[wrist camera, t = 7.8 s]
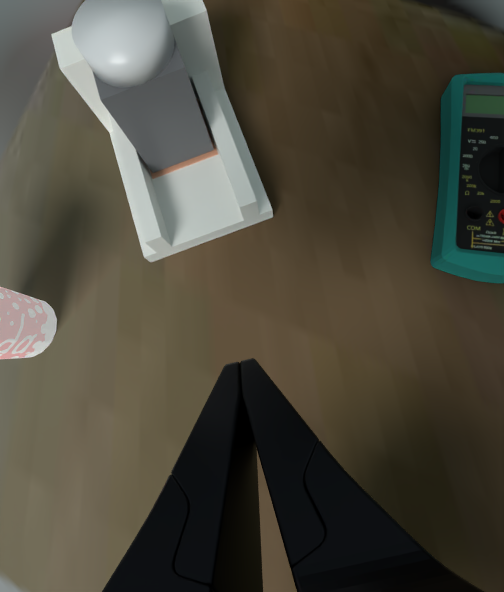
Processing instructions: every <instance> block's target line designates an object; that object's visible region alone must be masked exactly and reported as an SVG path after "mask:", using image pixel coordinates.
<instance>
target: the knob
mask: <svg viewBox="0 0 504 592" xmlns="http://www.w3.org/2000/svg"><path fill="white" fill-rule="evenodd" d="M72 38H73V41H74V43H75V45H76V47H77V48H78V50H79V51H80V53H81V54H82V56H83V57H84V59H85V60H86V62H87V63H88V65H89V66H90V68H91V69H92V71H93V75H94V78H95V82H96V86H97V89H98V93H99V96H100V100H101V102H102V103H103V104H104V106H105V107H106V109H107V110H108V111H109V113H110V114H111V116H112V117H113V118H114V120H115V121H116V123H117V124H118V125H119V127H120V128H121V130H122V131H123V132H124V134H125V135H126V136H127V138H128V139H129V141H130V142H131V143H132V145H133V146H134V148H135V149H136V150H137V152H138V153H139V155H140V156H141V157H142V159H143V160H144V162H145V163H146V164H147V166H148V167H149V169H150V170H151V171H152V173H155V172H157V171H160V170H163V169H165V168H168V167H171V166H173V165H176V164H178V163H181V162H184V161H186V160H189V159H192V158H194V157H197V156H200V155H202V154H205V153H207V152H210V151H213V150H214V149H213V146H212V143H211V140H210V137H209V134H208V132H207V129H206V126H205V123H204V120H203V117H202V114H201V111H200V109H199V106H198V103H197V100H196V97H195V94H194V91H193V88H192V86H191V83H190V80H189V77H188V74H187V71H186V68H185V66H184V63H183V60H182V57H181V55H180V52H179V49H178V46H177V44H176V41H175V38H174V35H173V33H172V30H171V27H170V24H169V21H168V18H167V16H166V13H165V10H164V7H163V4H162V2H161V0H85V2H84V3H83V4H82V5H81V6H80V8H79V9H78V11H77V12H76V14H75V17H74V19H73V23H72Z"/></svg>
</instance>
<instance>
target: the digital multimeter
mask: <svg viewBox="0 0 504 592" xmlns="http://www.w3.org/2000/svg"><path fill="white" fill-rule="evenodd" d="M461 127H462V133H461ZM494 145H495V146H494ZM460 147H461V153H460ZM486 149H487V150H486ZM459 167H460V173H459ZM458 187H459V193H458ZM457 207H458V213H457ZM456 229H457V234H456ZM431 265H432V266H433V267H434V268H436V269H439V270H441V271H444V272H447V273H450V274H453V275H456V276H460V277H463V278H467V279H471V280H475V281H481V282H490V283H504V73H476V74H459V75H455V76H454V77H453V78H452V79H451V81H450V83H449V85H448V86H447V88H446V90H445V92H444V93H443V95H442V97H441V149H440V172H439V189H438V199H437V209H436V220H435V229H434V237H433V245H432V253H431Z"/></svg>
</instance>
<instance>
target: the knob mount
mask: <svg viewBox="0 0 504 592" xmlns="http://www.w3.org/2000/svg"><path fill="white" fill-rule="evenodd" d="M161 2H162V4H163V7H164V10H165V13H166V16H167V18H168V21H169V24H170V27H171V30H172V33H173V35H174V38H175V41H176V44H177V46H178V49H179V52H180V55H181V57H182V60H183V63H184V66H185V68H186V71H187V74H188V77H189V80H190V83H191V86H192V88H193V91H194V94H195V97H196V100H197V103H198V106H199V109H200V111H201V114H202V117H203V120H204V123H205V126H206V129H207V132H208V134H209V137H210V140H211V143H212V146H213V149H214V150H213V151H210V152H207V153H205V154H202V155H200V156H197V157H194V158H192V159H189V160H186V161H184V162H181V163H178V164H176V165H173V166H171V167H168V168H165V169H163V170H160V171H157V172H155V173H152V171H151V170H150V169H149V167H148V166H147V164H146V163H145V162H144V160H143V159H142V157H141V156H140V155H139V153H138V152H137V150H136V149H135V148H134V146H133V145H132V143H131V142H130V141H129V139H128V138H127V136H126V135H125V134H124V132H123V131H122V130H121V128H120V127H119V125H118V124H117V123H116V121H115V120H114V118H113V117H112V116H111V114H110V113H109V111H108V110H107V109H106V107H105V106H104V104H103V103H102V102H101V100H100V96H99V93H98V89H97V86H96V82H95V78H94V75H93V71H92V69H91V68H90V66H89V65H88V63H87V62H86V60H85V59H84V57H83V56H82V54H81V53H80V51H79V50H78V48H77V47H76V45H75V43H74V41H73V38H72V26H71V27H68V28H66V29H63V30H61V31H59V32H56V33H54V34H52V39H53V43H54V47H55V51H56V55H57V59H58V63H59V67H60V70H61V71H62V72H63V73H64V75H65V76H66V77H67V79H68V80H69V81H70V82H71V84H72V85H73V86H74V88H75V89H76V90H77V91H78V93H79V94H80V95H81V97H82V98H83V99H84V100H85V102H86V103H87V104H88V106H89V107H90V108H91V109H92V111H93V112H94V113H95V115H96V116H97V117H98V118H99V120H100V121H101V122H102V124H103V125H104V126H105V127H106V129H107V130H108V131H109V133H110V136H111V140H112V143H113V147H114V151H115V154H116V158H117V161H118V165H119V169H120V172H121V176H122V180H123V183H124V187H125V190H126V194H127V198H128V201H129V205H130V208H131V212H132V216H133V219H134V223H135V226H136V230H137V234H138V237H139V241H140V244H141V248H142V252H143V255H144V258H146V259H147V260H148V261H150V262H153V261H156V260H159V259H161V258H164V257H167V256H169V255H172V254H175V253H178V252H180V251H183V250H186V249H188V248H191V247H194V246H196V245H199V244H202V243H205V242H207V241H210V240H213V239H215V238H218V237H221V236H224V235H226V234H229V233H232V232H234V231H237V230H240V229H242V228H245V227H248V226H251V225H253V224H256V223H259V222H261V221H264V220H267V219H270V218H272V217H273V210H272V207H271V205H270V202H269V200H268V197H267V195H266V192H265V190H264V187H263V185H262V182H261V179H260V177H259V174H258V172H257V169H256V167H255V164H254V162H253V159H252V157H251V154H250V152H249V149H248V146H247V144H246V141H245V139H244V136H243V134H242V131H241V129H240V126H239V124H238V121H237V119H236V116H235V113H234V111H233V108H232V106H231V103H230V101H229V98H228V96H227V93H226V91H225V88H224V84H223V79H222V75H221V71H220V66H219V62H218V58H217V53H216V49H215V45H214V40H213V36H212V32H211V27H210V23H209V19H208V14H207V10H206V8H205V5H204V3H203V0H161Z"/></svg>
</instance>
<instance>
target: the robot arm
mask: <svg viewBox="0 0 504 592" xmlns="http://www.w3.org/2000/svg"><path fill="white" fill-rule="evenodd" d="M256 447H257V449H256ZM257 451H258V454H259V458H260V461H261V465H262V468H263V472H264V476H265V479H266V483H267V486H268V490H269V493H270V497H271V500H272V504H273V508H274V511H275V515H276V518H277V522H278V525H279V529H280V532H281V536H282V540H283V543H284V547H285V550H286V554H287V557H288V561H289V564H290V568H291V571H292V575H293V579H294V582H295V586H296V589H297V592H484V591H482V590H481V589H479V588H477V587H476V586H474V585H472V584H471V583H469V582H468V581H466V580H464V579H463V578H461V577H460V576H458V575H456V574H455V573H454V572H452V571H451V570H449V569H448V568H447V567H445V566H444V565H443V564H442V563H440V562H439V561H438V560H437V559H435V558H434V557H433V556H432V555H431V554H430V553H428V552H427V551H426V550H425V549H424V548H423V547H422V546H421V545H420V544H419V543H418V542H416V541H415V540H414V539H413V538H412V537H411V536H410V535H409V534H408V533H407V532H406V531H405V530H404V529H403V528H402V527H401V526H400V525H399V524H398V523H397V522H396V521H395V520H394V519H393V518H392V517H391V516H390V515H389V514H388V513H387V512H386V511H385V510H384V509H383V508H382V507H381V506H380V505H379V504H378V503H377V502H375V501H374V500H373V499H372V498H371V497H370V496H369V495H368V494H367V493H366V492H365V491H364V490H363V489H362V488H361V487H360V486H359V485H358V484H357V482H356V481H355V480H354V479H353V478H352V477H351V476H350V475H349V474H348V473H347V472H346V471H345V470H344V469H343V468H342V466H341V465H340V464H339V463H338V462H337V461H336V459H335V458H334V457H333V456H332V455H331V454H330V452H329V451H328V450H327V449H326V447H325V446H324V445H323V444H322V442H321V441H319V439H318V438H317V436H316V435H315V434H314V432H313V431H312V430H311V429H310V427H309V426H308V425H307V424H306V422H305V421H304V420H303V419H302V417H301V416H300V415H299V414H298V412H297V411H296V410H295V409H294V407H293V406H292V405H291V404H290V402H289V401H288V400H287V399H286V397H285V396H284V395H283V394H282V392H281V391H280V390H279V389H278V387H277V386H276V385H275V384H274V382H273V381H272V380H271V379H270V377H269V376H268V375H267V374H266V372H265V371H264V370H263V368H262V367H261V366H260V365H259V363H258V362H257V361H256V360H255V359H253V358H252V359H247V360H243V361H241V362H240V363H239V362H234V363H230V364H226V365H225V366H224V368H223V370H222V372H221V374H220V376H219V378H218V380H217V382H216V384H215V386H214V388H213V390H212V392H211V394H210V396H209V398H208V400H207V402H206V404H205V406H204V408H203V410H202V412H201V414H200V416H199V418H198V420H197V422H196V424H195V426H194V428H193V430H192V432H191V434H190V436H189V438H188V440H187V442H186V444H185V446H184V448H183V450H182V452H181V454H180V456H179V458H178V460H177V462H176V464H175V466H174V468H173V470H172V472H171V473H172V475H169V477H168V479H167V481H166V483H165V485H164V487H163V489H162V491H161V493H160V495H159V497H158V499H157V501H156V502H155V504H154V506H153V508H152V510H151V512H150V514H149V515H148V517H147V519H146V520H145V522H144V524H143V526H142V527H141V529H140V531H139V532H138V534H137V536H136V537H135V539H134V541H133V542H132V544H131V546H130V547H129V549H128V550H127V552H126V554H125V555H124V557H123V558H122V560H121V562H120V563H119V565H118V567H117V568H116V570H115V571H114V573H113V575H112V576H111V578H110V579H109V581H108V583H107V584H106V586H105V588H104V589H103V591H102V592H263V580H262V558H261V536H260V514H259V492H258V470H257Z"/></svg>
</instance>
